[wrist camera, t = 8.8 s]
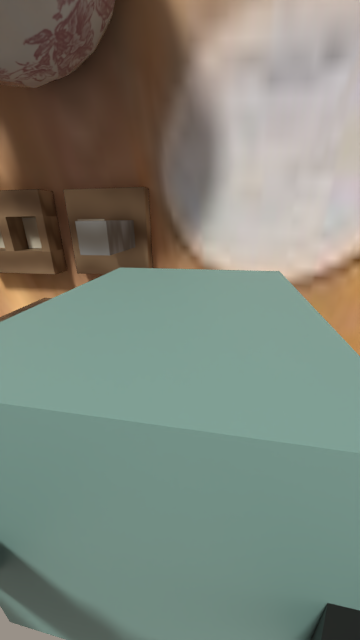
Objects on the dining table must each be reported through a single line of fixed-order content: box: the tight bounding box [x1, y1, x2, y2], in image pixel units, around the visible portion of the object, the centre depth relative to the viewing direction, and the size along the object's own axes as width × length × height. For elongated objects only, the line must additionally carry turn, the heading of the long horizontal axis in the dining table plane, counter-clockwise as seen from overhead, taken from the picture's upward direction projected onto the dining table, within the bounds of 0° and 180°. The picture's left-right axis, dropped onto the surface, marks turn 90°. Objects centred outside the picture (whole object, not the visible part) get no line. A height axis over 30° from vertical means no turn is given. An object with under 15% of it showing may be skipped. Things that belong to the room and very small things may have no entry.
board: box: [63, 187, 153, 274], centre depth 30 cm, size 11×11×10 cm
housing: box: [0, 268, 360, 640], centre depth 11 cm, size 10×10×12 cm
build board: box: [0, 189, 67, 274], centre depth 36 cm, size 11×13×3 cm
